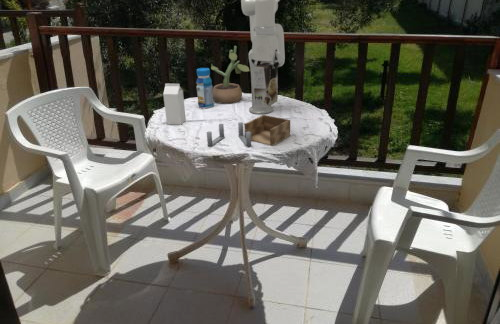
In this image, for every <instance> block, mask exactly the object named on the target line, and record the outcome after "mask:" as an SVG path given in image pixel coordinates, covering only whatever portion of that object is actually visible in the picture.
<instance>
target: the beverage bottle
mask: <svg viewBox="0 0 500 324" xmlns="http://www.w3.org/2000/svg"><path fill="white" fill-rule="evenodd" d="M210 69H211V68H209V67H200V68H199V67H198V68H197V69H196V75H197V78H196V82H195V84H196V94H197V95H196V96H197V103H198V105H197V106H198V107H199V108H201V109H210V108H213V107H214V105H215V104H214V100H213V88H214V86H213V84H212V82H213V80H212V78H211V76H210V75H211V70H210Z"/></svg>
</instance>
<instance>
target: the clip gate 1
mask: <svg viewBox="0 0 500 324" xmlns="http://www.w3.org/2000/svg"><path fill="white" fill-rule="evenodd" d="M224 126H225V125H224V123H219V124H218V134H219V135H218V136H217V137H215V138H214V139H213V135H212V134H213V133H212V132H213V131H207V132H206V140H207V141H206V143H207V147H210V148H211V147H214V146H215V145H216V144H219V142H220V141H222V140H224V139H225V130H224V129H225V128H224Z"/></svg>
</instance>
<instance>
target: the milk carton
mask: <svg viewBox="0 0 500 324" xmlns="http://www.w3.org/2000/svg"><path fill="white" fill-rule="evenodd" d="M180 85H181V84H180V83H165V84H164V90H163V94H162V95H163V96H162V97H163V102H164V103H163V104H164V111H165V112H164V113H165V120H166V125H178V126H179V125H182V124H183V123H184V122H185V121H186V120H187V118H186V110H185V109H186V108H185V99H184V98H185V97H184V90H183V89H182V87H181V86H180Z"/></svg>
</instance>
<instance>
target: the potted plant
mask: <svg viewBox="0 0 500 324" xmlns="http://www.w3.org/2000/svg"><path fill="white" fill-rule="evenodd" d="M237 48H238V47H237V46H236V45H234V46H233V49H230V50H229V51H228V53H229V54H228V59H230V63H229V64H228V66H227V69H226V70H225V72H223V71H221V70H220V69H219V68H218V67H216V66H214V65H213V63H210V69H211V70H212V71H214V72H216V73H217V74H219V75H221V76H223V81H222V83H219V84H216V85H214V86H213V88H212V90H213V102H216V103H218V104H234V103H237V102H239V101H240V100H241V99H242V97H243V91H242V88H241V86H240V85H239V84H236V83H231V82H230V76H231V74H232V73H231V72H232V71H233V70H235V74H237V75H238V74H241V73H242V72H251V69H250V66H247V65H246V64H242V63H241V64H240V60H237V59H238V55H237Z"/></svg>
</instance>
